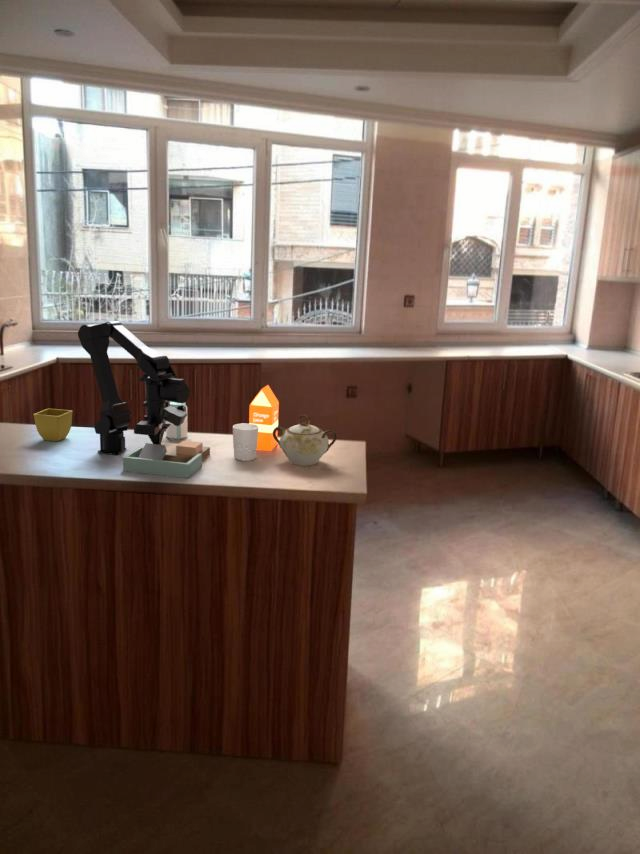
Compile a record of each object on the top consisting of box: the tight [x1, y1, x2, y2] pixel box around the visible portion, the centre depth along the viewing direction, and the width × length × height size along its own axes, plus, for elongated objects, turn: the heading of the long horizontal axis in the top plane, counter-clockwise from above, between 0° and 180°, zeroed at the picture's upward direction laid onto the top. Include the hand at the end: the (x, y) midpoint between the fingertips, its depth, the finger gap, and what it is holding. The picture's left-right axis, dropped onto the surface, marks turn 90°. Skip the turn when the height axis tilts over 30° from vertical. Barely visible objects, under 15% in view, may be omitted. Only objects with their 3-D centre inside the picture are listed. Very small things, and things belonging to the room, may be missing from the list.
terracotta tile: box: [176, 440, 204, 456], centre depth 199 cm, size 6×6×2 cm
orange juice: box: [248, 384, 280, 452], centre depth 215 cm, size 8×9×20 cm
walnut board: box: [161, 441, 211, 463], centre depth 201 cm, size 16×12×2 cm
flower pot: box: [33, 408, 73, 442], centre depth 212 cm, size 9×9×9 cm
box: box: [122, 446, 203, 479], centre depth 190 cm, size 19×11×4 cm, turn 80°
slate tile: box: [138, 442, 167, 460], centre depth 193 cm, size 6×6×2 cm
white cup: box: [232, 422, 259, 462], centre depth 204 cm, size 8×8×10 cm
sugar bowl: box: [273, 414, 337, 467], centre depth 202 cm, size 20×15×15 cm
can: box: [165, 401, 188, 440], centre depth 221 cm, size 7×7×12 cm
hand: (157, 449), depth 195 cm, fingers closed, pressing on slate tile
